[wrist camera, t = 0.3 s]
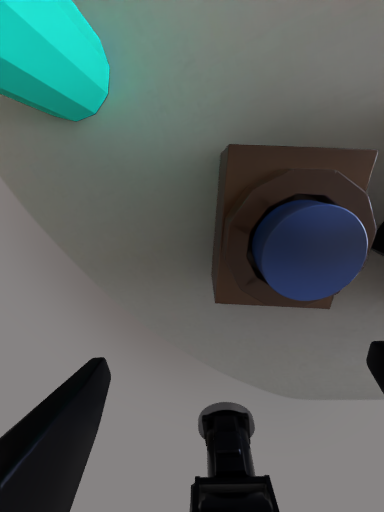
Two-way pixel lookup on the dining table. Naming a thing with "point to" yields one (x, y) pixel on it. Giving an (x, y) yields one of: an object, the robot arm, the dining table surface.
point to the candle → (51, 58)
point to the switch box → (379, 241)
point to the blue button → (309, 249)
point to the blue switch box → (270, 197)
